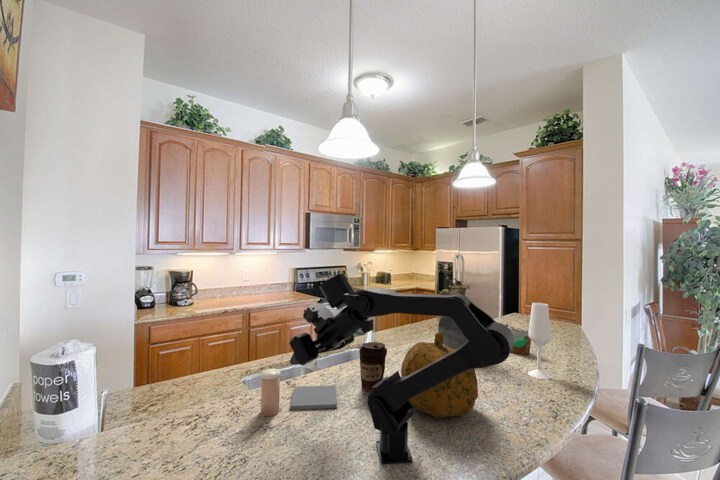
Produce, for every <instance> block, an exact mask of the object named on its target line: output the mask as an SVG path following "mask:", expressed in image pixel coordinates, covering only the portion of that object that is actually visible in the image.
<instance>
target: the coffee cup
mask: <svg viewBox="0 0 720 480" xmlns="http://www.w3.org/2000/svg"><path fill="white" fill-rule="evenodd" d="M358 351H359V366H360V369H359V370H360V372H359V373H360V381H361V389H362V390H363V391H365V392H368V393H371V392H372V391H373V390H371V388H372V387H373V386H374V385H376V384H377V383H378V382H380V381H381V380H382V379H384V375H385V369H386V358H387V354H388V349H387V348H386V344H385V343H383V342H378V341H369V342H364V343H362V344H361V346H360V348H359V350H358Z"/></svg>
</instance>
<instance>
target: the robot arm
mask: <svg viewBox="0 0 720 480" xmlns="http://www.w3.org/2000/svg"><path fill="white" fill-rule="evenodd" d="M319 289H320V291H321V293H322V295H323V296H324V298H325V299H326V301H327V303H328V305H329V307H330V308H332V310H333V309H335V308H336V310H340V311H339V312H338V313H337V314H335V315H334V313H333V312H332V311H331V310H330V309H329V308H328V307H327V306H326V305H325V304H323V303H321V302H320V303H314V304H310V305H309V306H307V307H306V308H305V309H304V310H303V314H302V316H303V319H304V320H305V321H306V322H307V323H308V324H312V325H313V326H314V328H313V331H314V334H317V335H316V336H317V339H315V340H313V338H312V337H311V334H310V333H308V332H303V333H300V334H297V335H294V336H293V337H292V338H291V339H290V340H289V345H290V347H291V349H292V352H293V353H292V355H291V357H290V359H289V363H290V364H291V365H292V366H294V365H295V366H296V365H300V366H301V367H303V366H305V365H307V364H309V363H312V362H313V361H315V360H316V359H318V358H319V354H323V353H327V352H333V351H337V350H341V349H343V348H345V347H347V346H350V345H351V344H352V343H353V342H355V335H354V334H355V333H356V332H357V331H359V330H361V332H362V333H363V334H367V333H369V332H372V331H374V322H375V321H374V319H373V318H375V317H382V316H388V315H392V314H404V315H416V316H417V315H421V316H432V317H435V316H436V317H442V316H447V317H451V318H452V319H453V320H454V321H455V323H456V324H457V326H458V327H459V329H460V330H461V332H462V333H463V335H464V336H465V337H466V338H467V339H468V341H467V342H466V343H464V344H463V345H462V346H461V347H459V348H457V349H456V350H454V351H452V352H450V353H448V354H446V355H445V356H443V357H441V358H439V359H437V360H436V361H434V362H432V363H430V364H428V365H426V366H425V367H423V368H421V369H419V370H417V371H415V372H414V373H412V374H410V375H408V376H403V377H401V373H400V372H399V370H396V371H395V372H393V373H392V374H391V375H390V376H385V377H383V379H382V380H381V381H380V382H378V383H377V384H376V385H374V386H373V387H372V388H371V390H373V391H372V392H368V394H367V401H366V402H367V407H368V410H369V411H370V416H371V420H372V424H373V426H374V429H375V430H377V431H379V440H376V441H375V446H376V450H377V454H378V458H379V462H380V463H381V464H396V463H400V464H401V463H412V462H413V460H414V459H413V455H412V453H411V450H410V449H409V446H408V444H409V442H408V439H409V438H408V433H409V420H410V419H411V418H412V417H413V416H414V413H415V410H416V408H415V407H414V406H413V405H412V404H411V402H410V401H409V399H411V398H413V397H415V396H417V395H419V394H421V393H423V392H425V391H427V390H428V389H430V388H432V387H434V386H436V385H438V384H440V383H442V382H444V381H446V380H448V379H450V378H452V377H454V376H456V375H458V374H460V373H462V372H464V371H466V370H469V369H475V370H476V369H478V370H479V369H485V368H487V367H488V368H489V367H493V366H497V365H501V364H502V363H504V362H505V361H506V360H507V359H508V358H509V356H510V354H511V353H510V352H511V349H512V347H513V345H514V336H513V334H512V332H511V330H510V329H509V328H508V327H507V326H505V324H503V323H501V322H497V321H496V320H495V319H494V318H493V317H492V316H491V315H490V314H488V313H487V312H486V311H484V310H483V309H481V308H480V307H479V306H478V305H476V304H474V302H472V301H471V299H469V298H468V296H466V294H465V295H462V294H456V295H448V294H443V295H440V294H428V293H427V294H425V293H418V294H417V293H401V292H397V291H394V290H392V289H388V288H384V287H380V286H379V287H378V286H377V287H372V288H368V289H362V290H361V289H360V290H354V289H353V286H352V285H351V284H350V283H349V281H348V278H347V276H346V275H345V273H344V272H339V273H336V275H335V276H332V277H330V278H329V279H327V280H324V281H323V282H321V283H320V285H319ZM341 309H342V310H341Z"/></svg>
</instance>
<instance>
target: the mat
mask: <svg viewBox="0 0 720 480" xmlns="http://www.w3.org/2000/svg"><path fill="white" fill-rule="evenodd" d="M336 387H337V386H336V384H335V385H334V384H333V385H330V384H329V385H301V386H300V385H299V386H294V388H293V392H292V397H291V401H290V406H289V410H296V411H297V410H319V409H322V410H323V409H325V410H326V409H338V401H337V400H338V399H337V388H336Z"/></svg>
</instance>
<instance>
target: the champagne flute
mask: <svg viewBox="0 0 720 480" xmlns="http://www.w3.org/2000/svg"><path fill="white" fill-rule="evenodd" d="M549 312H550V310H549V304H548V303H544V302H532V304H531V310H530V317H529V326H528V327H529V328H528V331H529V333H528V336H529V338H530V339H531V343H533V344H534V345H535V346H537V347H536V348H537V352H536V353H537V355H536V361H537V362H536V369H533V370H529V371H528V372H527V374H528V375H529V376H530V377H532V378H536V379H538V380H539V379H540V380H549V379H550V378H551V376H550V375H549V374H548V373H547V372H545V371H544V370H542V347H544V346H546V345H547V344H549V342H550V341H551V339H552V335H551V334H552V332H551V331H552V330H551V324H550V323H551V322H550V313H549Z"/></svg>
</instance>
